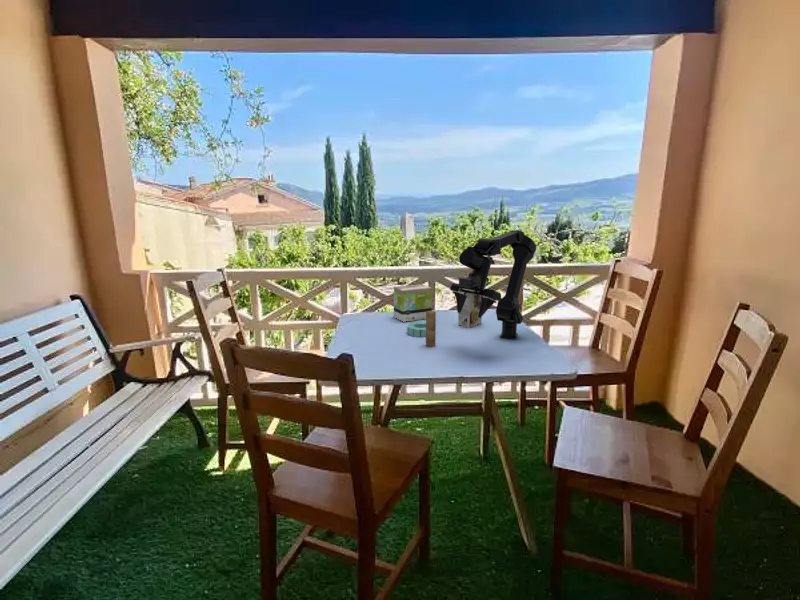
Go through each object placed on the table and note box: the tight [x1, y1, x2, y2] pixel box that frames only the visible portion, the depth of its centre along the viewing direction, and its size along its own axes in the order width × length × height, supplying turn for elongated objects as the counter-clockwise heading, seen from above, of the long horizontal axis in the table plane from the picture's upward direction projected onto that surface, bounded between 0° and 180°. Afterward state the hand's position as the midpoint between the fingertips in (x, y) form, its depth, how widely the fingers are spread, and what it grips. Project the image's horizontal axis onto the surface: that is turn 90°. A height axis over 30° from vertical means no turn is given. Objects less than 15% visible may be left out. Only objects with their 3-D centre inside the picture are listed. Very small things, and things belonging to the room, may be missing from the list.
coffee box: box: [457, 291, 483, 328], centre depth 198 cm, size 9×6×16 cm
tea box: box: [393, 283, 433, 323], centre depth 210 cm, size 15×10×15 cm, turn 118°
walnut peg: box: [425, 310, 437, 348], centre depth 172 cm, size 4×4×13 cm
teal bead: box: [406, 321, 426, 338], centre depth 188 cm, size 11×11×3 cm
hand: (468, 315), depth 162 cm, fingers open, 9 cm apart
